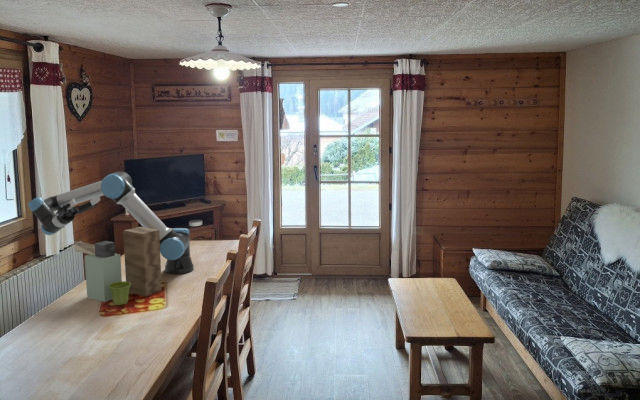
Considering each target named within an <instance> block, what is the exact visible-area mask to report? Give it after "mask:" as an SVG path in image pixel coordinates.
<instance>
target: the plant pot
mask: <svg viewBox="0 0 640 400" xmlns="http://www.w3.org/2000/svg"><path fill="white" fill-rule="evenodd" d="M130 285H131V283H130V282H126V280H125V281H123V280H122V281H121V282H114V283H111V284H110V285H109V287H110V290H111V293H112V298H113V299H112V302H113V304H114V305H115V306H122V305H127V304H128V302H129V294H130V293H129V288H130Z"/></svg>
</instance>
